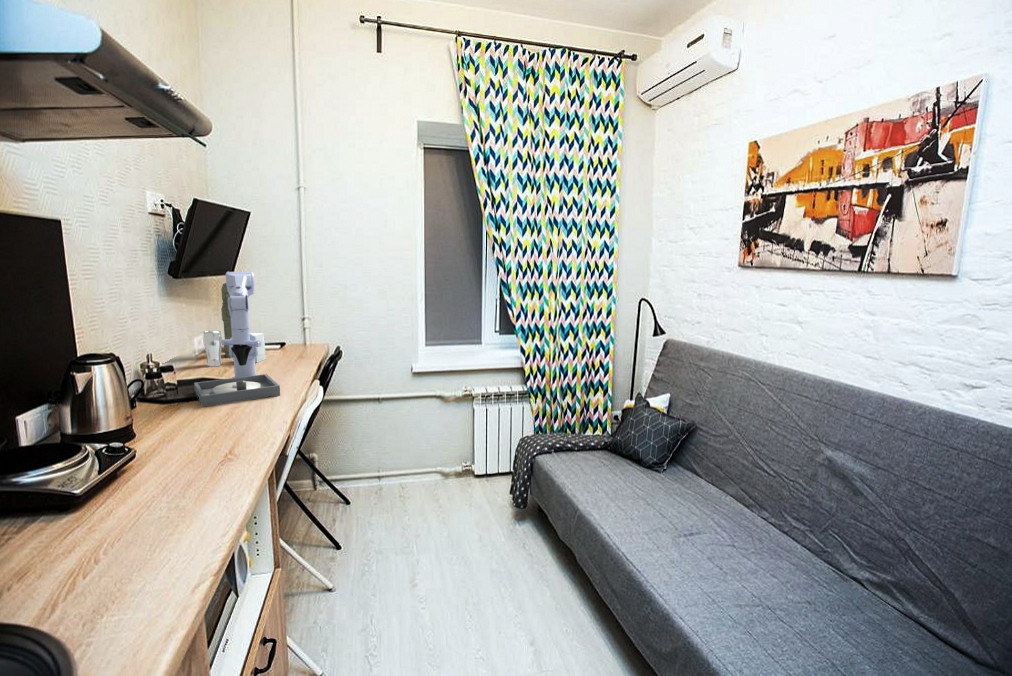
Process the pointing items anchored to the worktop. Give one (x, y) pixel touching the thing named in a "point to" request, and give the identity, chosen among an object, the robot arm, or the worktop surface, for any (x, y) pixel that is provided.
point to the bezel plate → (208, 398)
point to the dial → (235, 386)
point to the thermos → (226, 317)
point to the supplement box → (261, 349)
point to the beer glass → (213, 347)
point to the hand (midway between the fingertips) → (242, 365)
